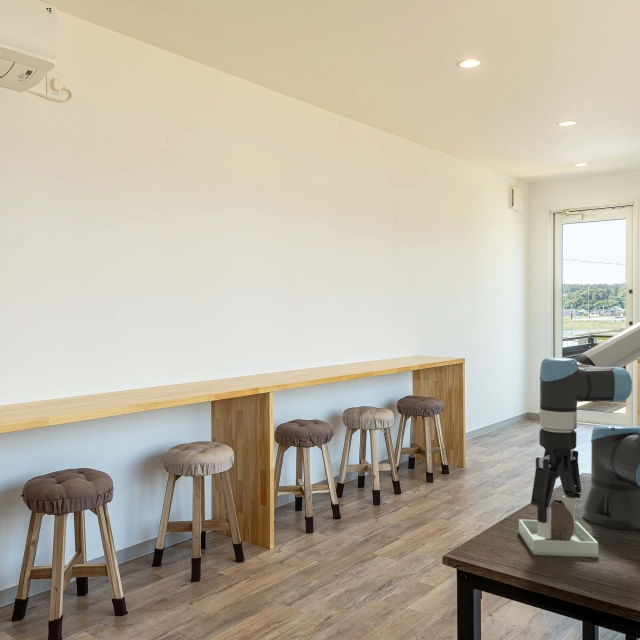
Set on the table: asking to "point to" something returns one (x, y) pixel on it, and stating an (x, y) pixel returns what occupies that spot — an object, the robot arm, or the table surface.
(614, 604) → the table surface
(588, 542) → the tray
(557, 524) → the vase
